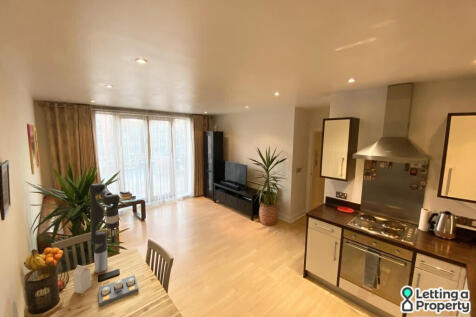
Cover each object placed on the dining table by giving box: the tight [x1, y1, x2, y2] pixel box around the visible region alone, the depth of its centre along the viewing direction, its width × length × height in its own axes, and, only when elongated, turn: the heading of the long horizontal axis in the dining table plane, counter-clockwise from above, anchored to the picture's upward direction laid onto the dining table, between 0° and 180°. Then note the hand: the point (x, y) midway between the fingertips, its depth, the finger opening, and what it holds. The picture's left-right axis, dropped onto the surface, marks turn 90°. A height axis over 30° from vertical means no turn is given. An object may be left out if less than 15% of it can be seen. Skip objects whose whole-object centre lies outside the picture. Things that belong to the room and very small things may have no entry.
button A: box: [102, 287, 110, 296], centre depth 141 cm, size 5×5×4 cm
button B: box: [114, 279, 122, 290], centre depth 146 cm, size 5×5×4 cm
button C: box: [127, 278, 134, 287], centre depth 151 cm, size 5×5×4 cm
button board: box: [98, 274, 139, 308], centre depth 146 cm, size 17×24×3 cm
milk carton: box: [72, 264, 92, 294], centre depth 146 cm, size 7×7×19 cm
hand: (113, 242), depth 149 cm, fingers closed
